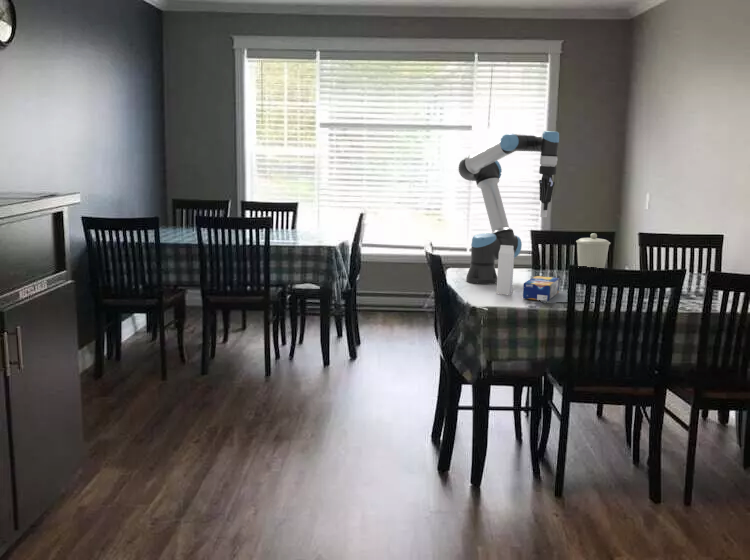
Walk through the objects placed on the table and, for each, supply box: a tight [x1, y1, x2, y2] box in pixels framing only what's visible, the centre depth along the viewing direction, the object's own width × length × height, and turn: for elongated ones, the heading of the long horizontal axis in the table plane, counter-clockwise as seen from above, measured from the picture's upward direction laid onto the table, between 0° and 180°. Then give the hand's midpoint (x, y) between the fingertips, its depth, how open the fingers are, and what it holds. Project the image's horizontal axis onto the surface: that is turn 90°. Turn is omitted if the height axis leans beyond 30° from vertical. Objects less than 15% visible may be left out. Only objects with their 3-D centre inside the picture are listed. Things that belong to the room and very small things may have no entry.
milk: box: [495, 245, 515, 296], centre depth 333 cm, size 6×6×22 cm
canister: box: [575, 232, 611, 269], centre depth 404 cm, size 18×18×21 cm
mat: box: [539, 290, 568, 304], centre depth 329 cm, size 26×24×1 cm
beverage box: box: [522, 275, 560, 301], centre depth 329 cm, size 7×11×22 cm
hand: (543, 216), depth 343 cm, fingers closed
